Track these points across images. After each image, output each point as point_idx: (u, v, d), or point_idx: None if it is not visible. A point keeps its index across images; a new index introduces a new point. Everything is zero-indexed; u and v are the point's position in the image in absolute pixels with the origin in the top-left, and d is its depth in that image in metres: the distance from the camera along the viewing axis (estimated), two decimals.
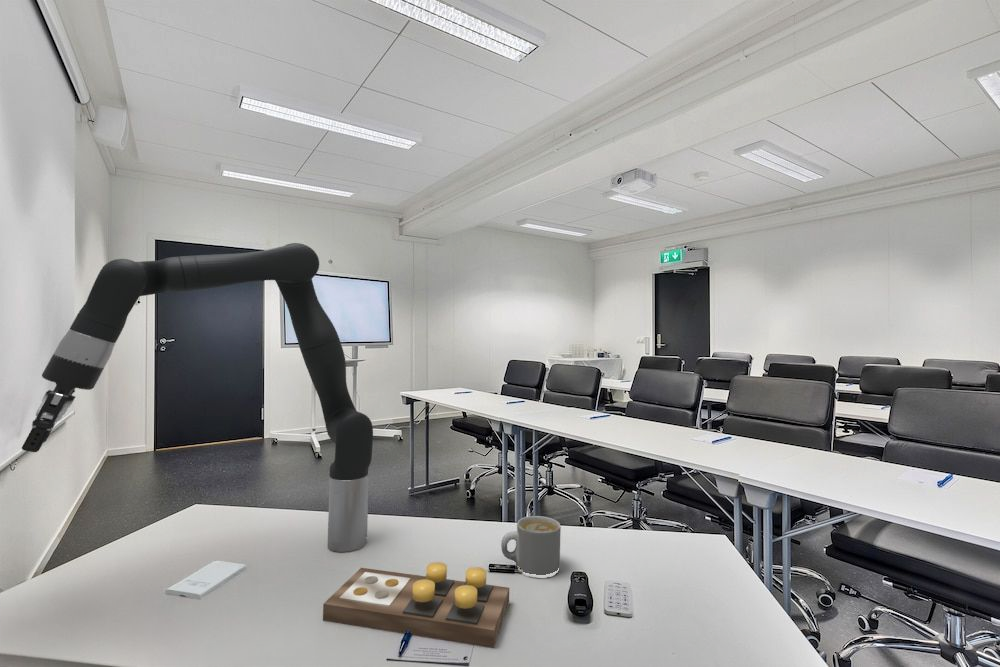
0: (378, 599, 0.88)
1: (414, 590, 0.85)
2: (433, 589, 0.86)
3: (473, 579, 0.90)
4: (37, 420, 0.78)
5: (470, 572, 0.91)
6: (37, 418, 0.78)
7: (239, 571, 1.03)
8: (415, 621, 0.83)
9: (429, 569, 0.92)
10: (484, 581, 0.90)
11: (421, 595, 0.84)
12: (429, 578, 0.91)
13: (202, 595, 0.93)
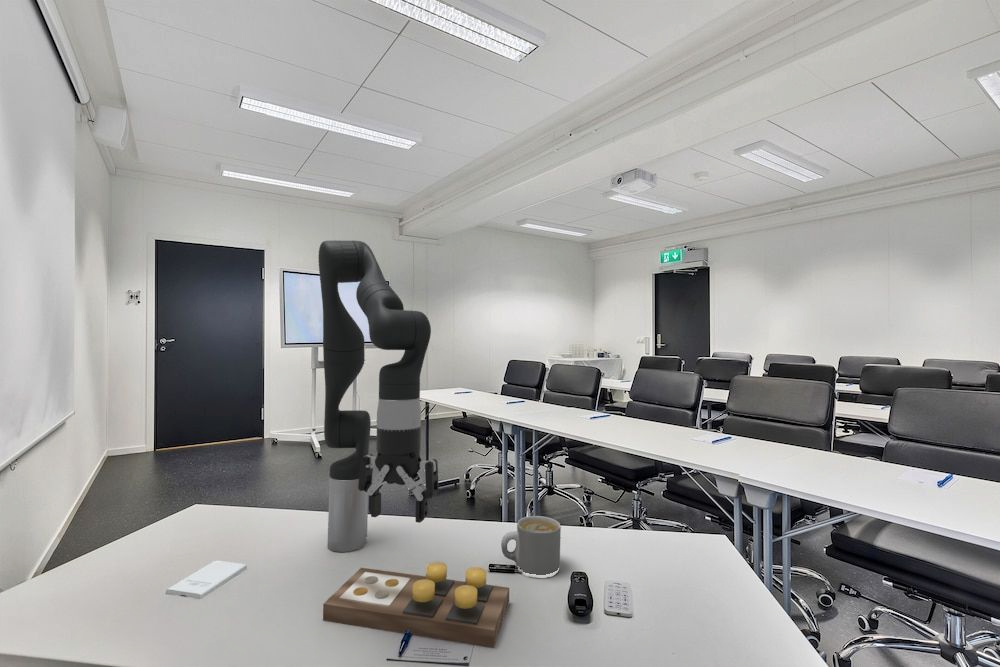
0: (378, 599, 0.88)
1: (414, 590, 0.85)
2: (433, 589, 0.86)
3: (473, 579, 0.90)
4: (433, 491, 0.79)
5: (470, 572, 0.91)
6: (433, 489, 0.79)
7: (240, 571, 1.03)
8: (415, 621, 0.83)
9: (429, 569, 0.92)
10: (484, 581, 0.90)
11: (421, 595, 0.84)
12: (429, 578, 0.91)
13: (203, 595, 0.93)
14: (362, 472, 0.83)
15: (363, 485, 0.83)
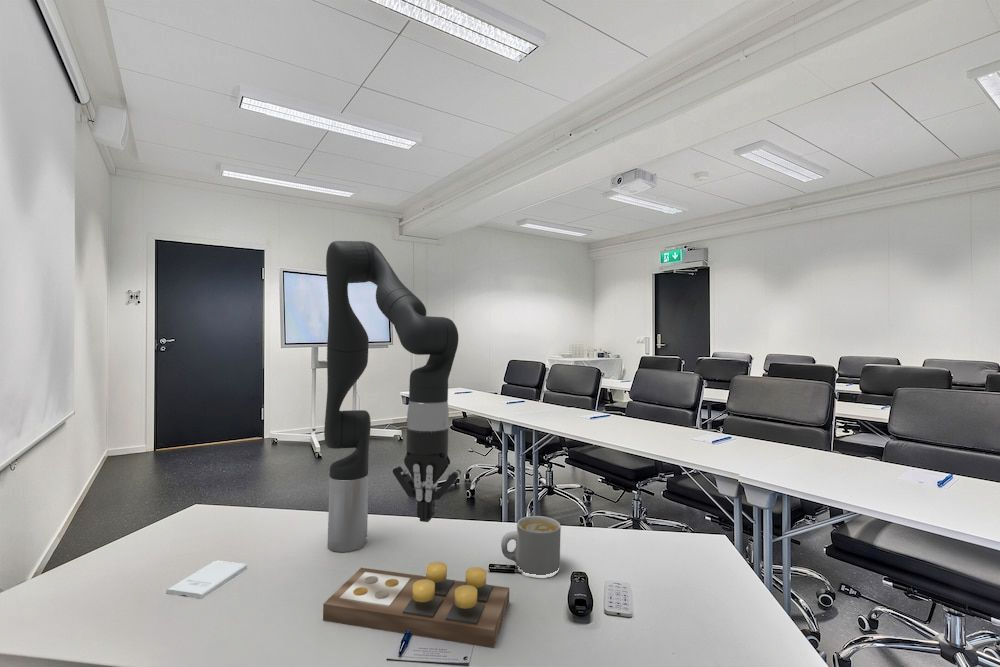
0: (378, 599, 0.88)
1: (414, 590, 0.85)
2: (433, 589, 0.86)
3: (473, 579, 0.90)
4: None
5: (470, 572, 0.91)
6: None
7: (240, 571, 1.03)
8: (415, 621, 0.83)
9: (429, 569, 0.92)
10: (484, 581, 0.90)
11: (421, 595, 0.84)
12: (429, 578, 0.91)
13: (203, 595, 0.93)
14: (402, 481, 0.86)
15: (410, 490, 0.86)
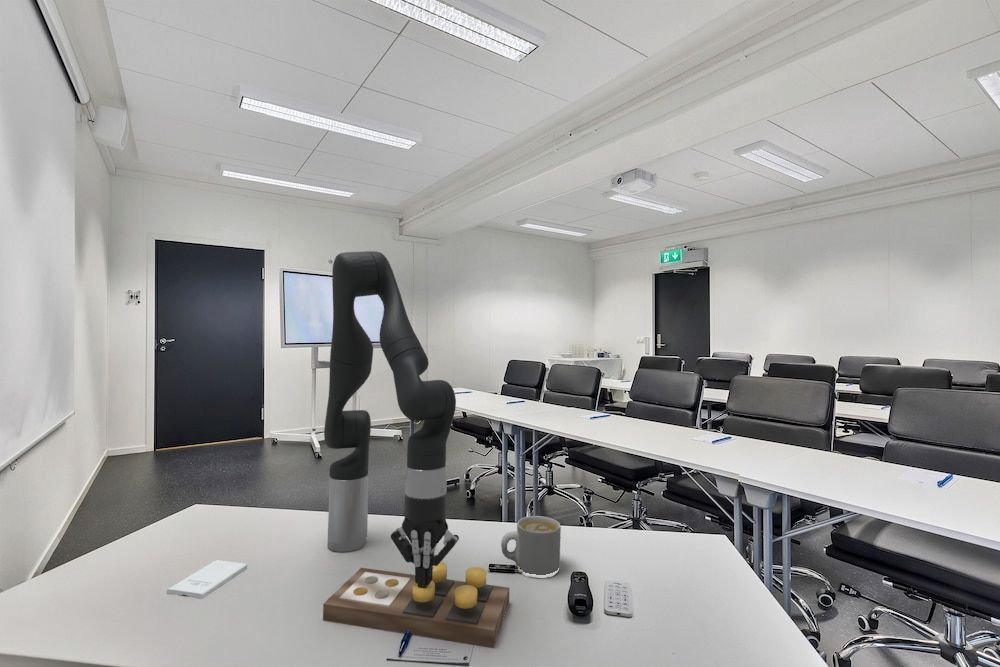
0: (378, 599, 0.88)
1: (414, 590, 0.85)
2: (433, 589, 0.86)
3: (473, 579, 0.90)
4: None
5: (470, 572, 0.91)
6: (440, 561, 0.84)
7: (240, 570, 1.03)
8: (415, 621, 0.83)
9: None
10: (484, 581, 0.90)
11: (421, 595, 0.84)
12: None
13: (204, 594, 0.93)
14: (400, 546, 0.86)
15: (408, 555, 0.86)
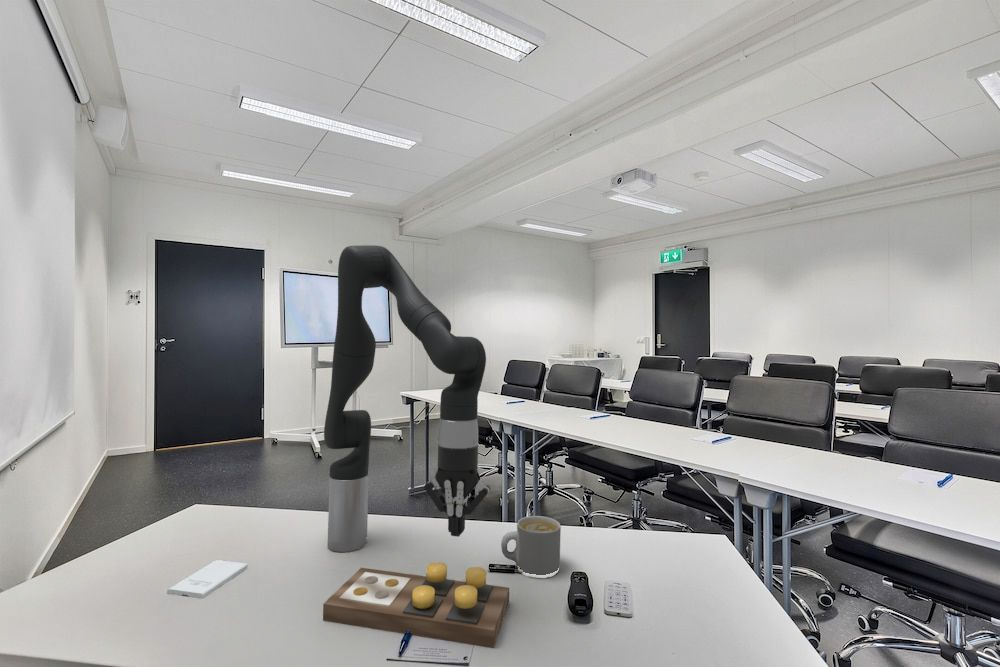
0: (378, 599, 0.88)
1: (414, 596, 0.85)
2: (433, 595, 0.86)
3: (473, 579, 0.90)
4: (472, 511, 0.87)
5: (470, 572, 0.91)
6: None
7: (241, 570, 1.03)
8: (415, 621, 0.83)
9: (429, 569, 0.92)
10: (484, 581, 0.90)
11: (421, 602, 0.84)
12: (429, 578, 0.91)
13: (205, 594, 0.93)
14: (433, 496, 0.89)
15: (441, 505, 0.88)
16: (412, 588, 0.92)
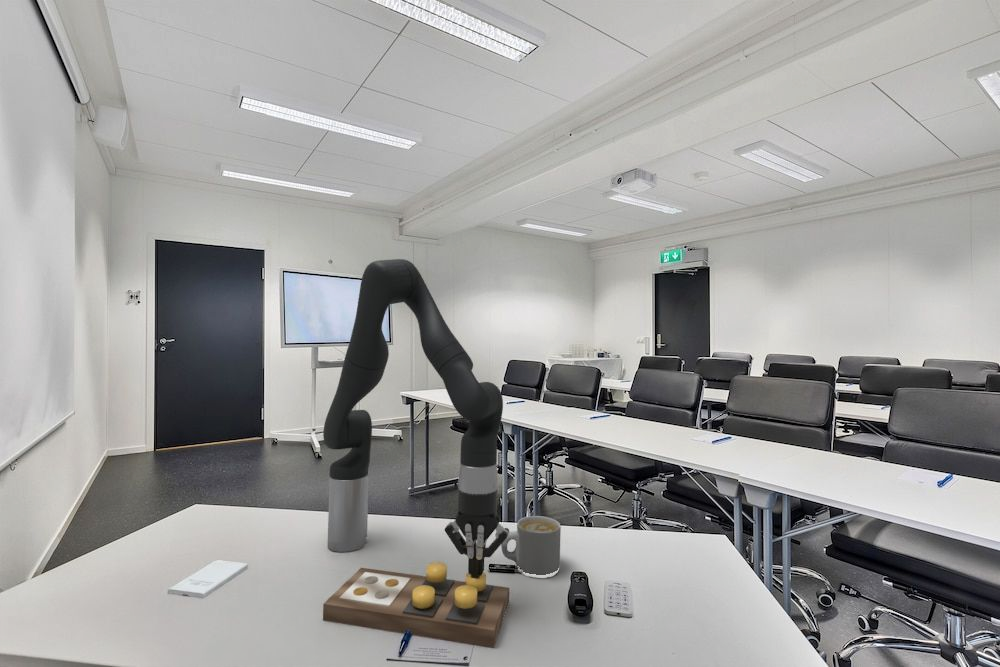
0: (378, 599, 0.88)
1: (414, 596, 0.85)
2: (433, 595, 0.86)
3: (473, 583, 0.89)
4: None
5: (470, 576, 0.91)
6: None
7: (241, 570, 1.03)
8: (415, 621, 0.83)
9: (429, 569, 0.92)
10: (484, 585, 0.90)
11: (421, 602, 0.84)
12: (429, 578, 0.91)
13: (205, 594, 0.93)
14: (454, 539, 0.91)
15: (462, 548, 0.91)
16: (412, 588, 0.92)
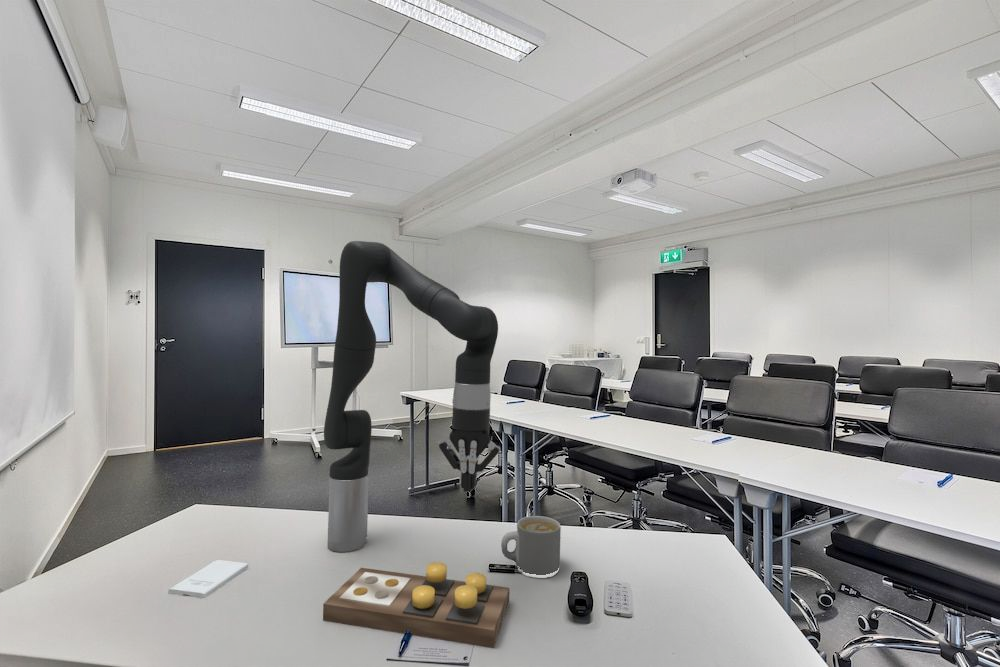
0: (378, 599, 0.88)
1: (414, 596, 0.85)
2: (433, 595, 0.86)
3: (473, 585, 0.89)
4: (484, 468, 0.94)
5: (470, 578, 0.91)
6: (485, 467, 0.94)
7: (241, 570, 1.03)
8: (415, 621, 0.83)
9: (429, 569, 0.92)
10: (484, 587, 0.90)
11: (421, 602, 0.84)
12: (429, 578, 0.91)
13: (206, 594, 0.93)
14: (447, 455, 0.95)
15: (455, 463, 0.95)
16: (412, 588, 0.92)
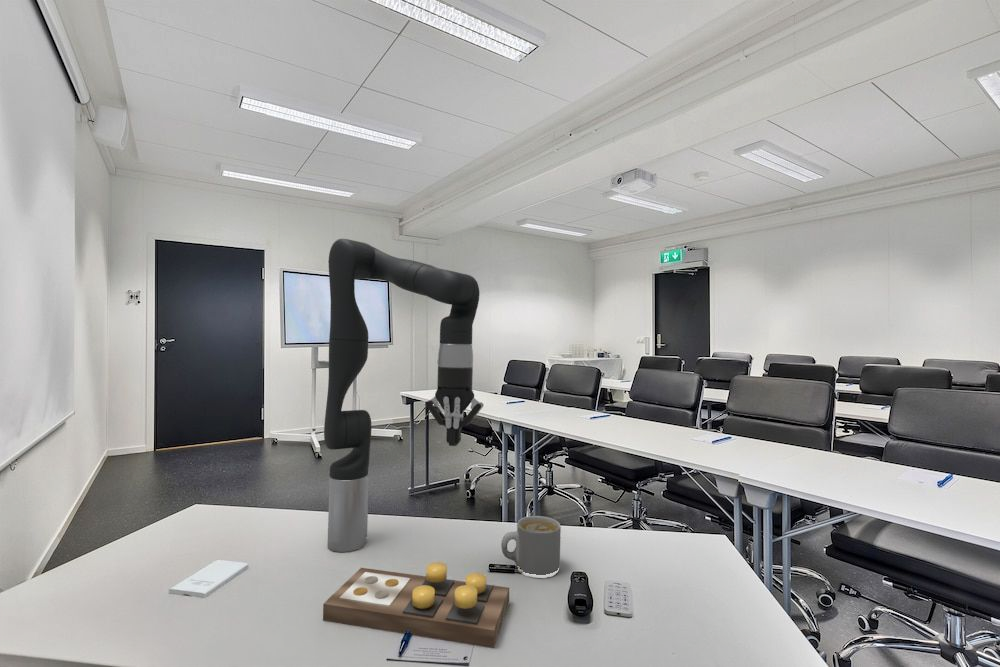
0: (378, 599, 0.88)
1: (414, 596, 0.85)
2: (433, 595, 0.86)
3: (473, 585, 0.89)
4: (467, 423, 1.01)
5: (470, 578, 0.91)
6: (468, 422, 1.00)
7: (242, 570, 1.03)
8: (415, 621, 0.83)
9: (429, 569, 0.92)
10: (484, 587, 0.90)
11: (421, 602, 0.84)
12: (429, 578, 0.91)
13: (206, 594, 0.93)
14: (433, 412, 1.02)
15: (441, 419, 1.01)
16: (412, 588, 0.92)
